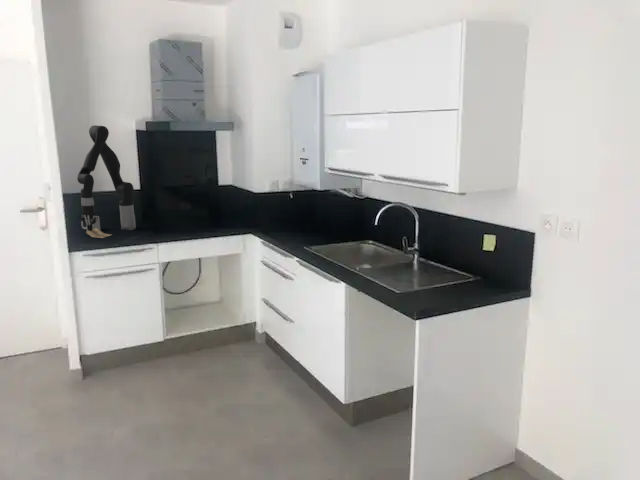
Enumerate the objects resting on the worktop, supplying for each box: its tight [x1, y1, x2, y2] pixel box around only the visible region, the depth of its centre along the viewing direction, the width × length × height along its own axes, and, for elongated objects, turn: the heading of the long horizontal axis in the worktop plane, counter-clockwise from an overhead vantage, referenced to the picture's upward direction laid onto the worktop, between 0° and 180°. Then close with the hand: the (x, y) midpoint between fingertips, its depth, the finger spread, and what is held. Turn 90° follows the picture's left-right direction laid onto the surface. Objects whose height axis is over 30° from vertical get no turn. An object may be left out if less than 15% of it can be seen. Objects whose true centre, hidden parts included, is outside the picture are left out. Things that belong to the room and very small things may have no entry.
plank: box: [85, 228, 106, 238], centre depth 345 cm, size 10×7×1 cm
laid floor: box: [96, 233, 113, 239], centre depth 345 cm, size 11×14×2 cm
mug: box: [80, 215, 101, 231], centre depth 357 cm, size 12×8×11 cm
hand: (90, 230), depth 344 cm, fingers closed
